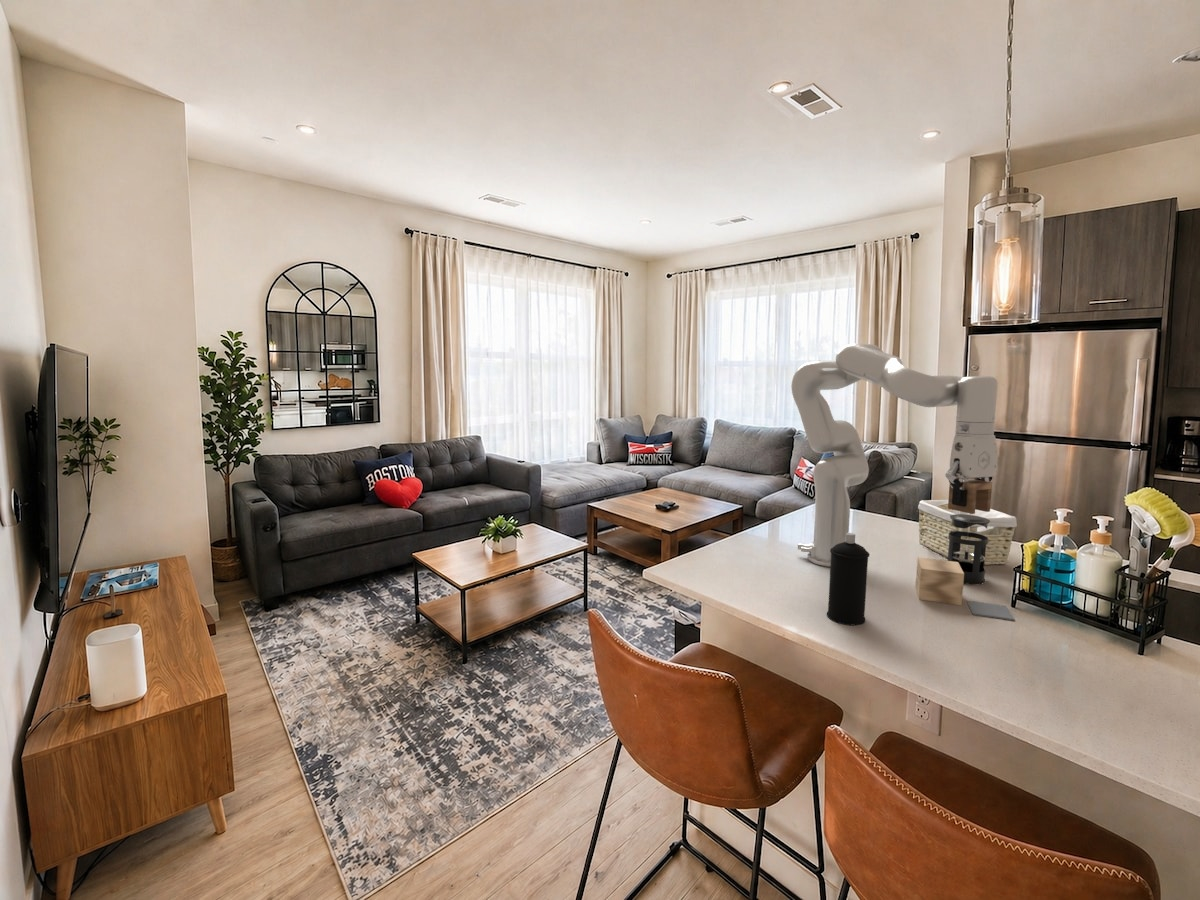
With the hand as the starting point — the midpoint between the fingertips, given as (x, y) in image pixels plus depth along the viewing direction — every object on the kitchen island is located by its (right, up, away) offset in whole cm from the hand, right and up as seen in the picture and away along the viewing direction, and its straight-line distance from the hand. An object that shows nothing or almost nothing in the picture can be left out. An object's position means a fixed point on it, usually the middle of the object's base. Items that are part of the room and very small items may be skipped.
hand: (969, 503), depth 132 cm
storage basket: (+24, -20, +40) cm, 50 cm away
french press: (+12, -22, +20) cm, 32 cm away
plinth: (-3, -24, +8) cm, 26 cm away
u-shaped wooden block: (0, -2, 0) cm, 2 cm away
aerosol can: (-31, -26, -4) cm, 41 cm away
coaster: (+4, -25, -1) cm, 26 cm away
